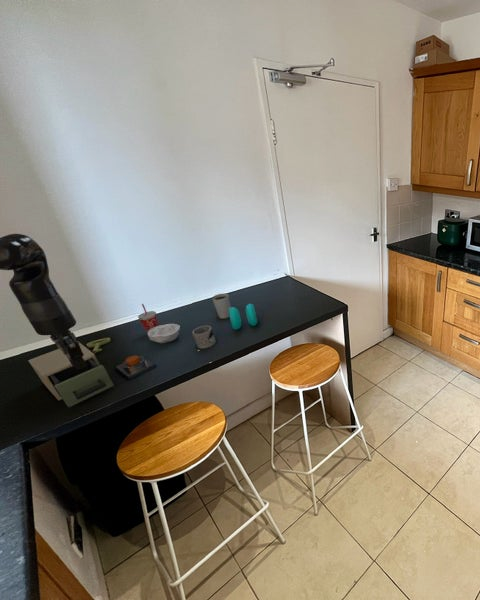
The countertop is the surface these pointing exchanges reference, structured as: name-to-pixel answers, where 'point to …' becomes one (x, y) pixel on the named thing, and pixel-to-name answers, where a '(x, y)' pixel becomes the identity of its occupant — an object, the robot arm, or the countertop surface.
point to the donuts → (236, 318)
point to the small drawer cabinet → (56, 366)
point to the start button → (132, 360)
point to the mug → (204, 336)
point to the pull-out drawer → (81, 382)
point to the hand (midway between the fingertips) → (79, 365)
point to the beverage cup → (148, 319)
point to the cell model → (164, 333)
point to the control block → (135, 367)
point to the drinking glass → (222, 305)
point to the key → (98, 344)
